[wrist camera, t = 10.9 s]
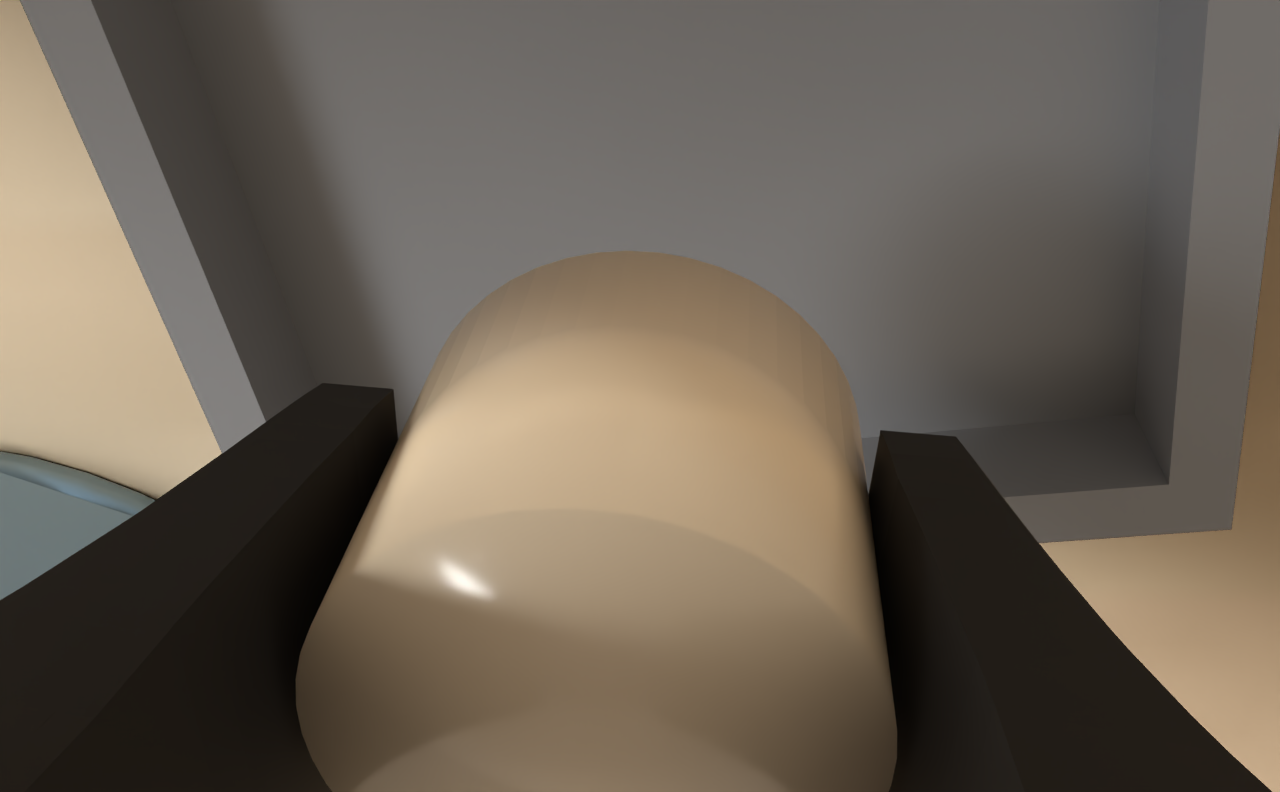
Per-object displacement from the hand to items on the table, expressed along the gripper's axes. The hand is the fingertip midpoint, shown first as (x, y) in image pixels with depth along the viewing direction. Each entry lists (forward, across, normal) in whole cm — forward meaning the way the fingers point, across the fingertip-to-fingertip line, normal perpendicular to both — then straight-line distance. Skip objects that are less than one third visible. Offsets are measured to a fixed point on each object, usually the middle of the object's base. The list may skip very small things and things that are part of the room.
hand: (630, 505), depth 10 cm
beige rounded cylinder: (+1, 0, 0) cm, 1 cm away
